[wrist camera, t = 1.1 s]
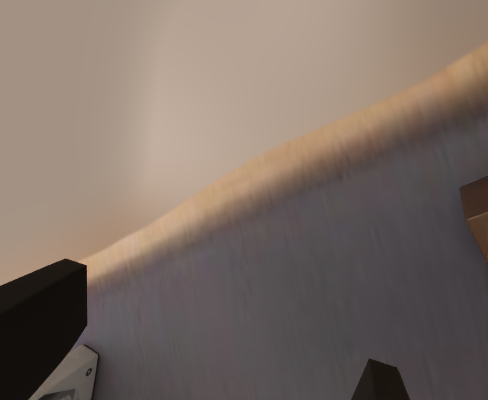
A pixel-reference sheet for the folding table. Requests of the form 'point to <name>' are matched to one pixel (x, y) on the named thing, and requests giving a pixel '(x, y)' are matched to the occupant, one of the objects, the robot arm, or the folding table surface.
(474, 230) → the brown box
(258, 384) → the folding table surface
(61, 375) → the ink box
